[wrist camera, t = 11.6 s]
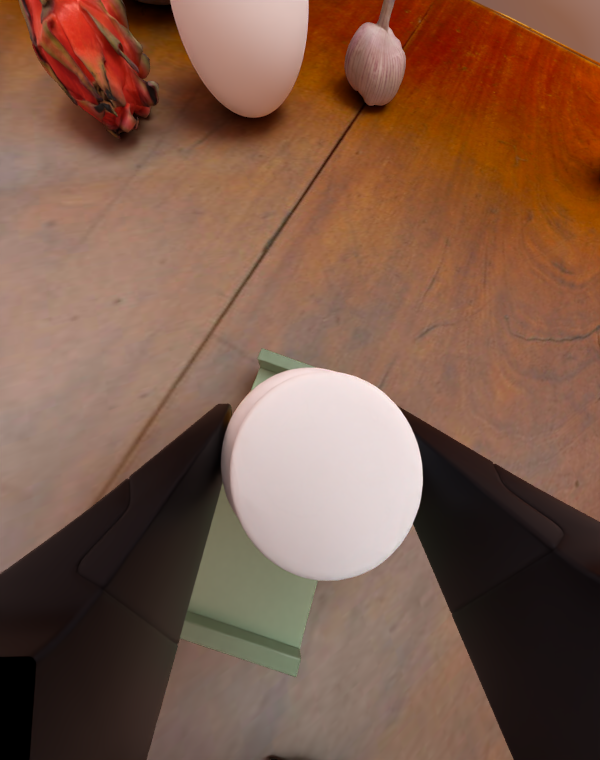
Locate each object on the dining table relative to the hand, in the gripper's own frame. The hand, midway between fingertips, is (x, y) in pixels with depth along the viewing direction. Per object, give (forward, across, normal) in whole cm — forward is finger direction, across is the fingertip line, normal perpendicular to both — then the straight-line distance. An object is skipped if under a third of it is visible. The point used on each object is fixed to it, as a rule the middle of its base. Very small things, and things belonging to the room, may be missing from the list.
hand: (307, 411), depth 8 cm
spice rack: (+4, +1, +10) cm, 11 cm away
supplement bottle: (+4, 0, +6) cm, 7 cm away
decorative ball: (+32, +4, -19) cm, 38 cm away
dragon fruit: (+30, +18, -16) cm, 38 cm away
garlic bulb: (+36, -10, -23) cm, 44 cm away
